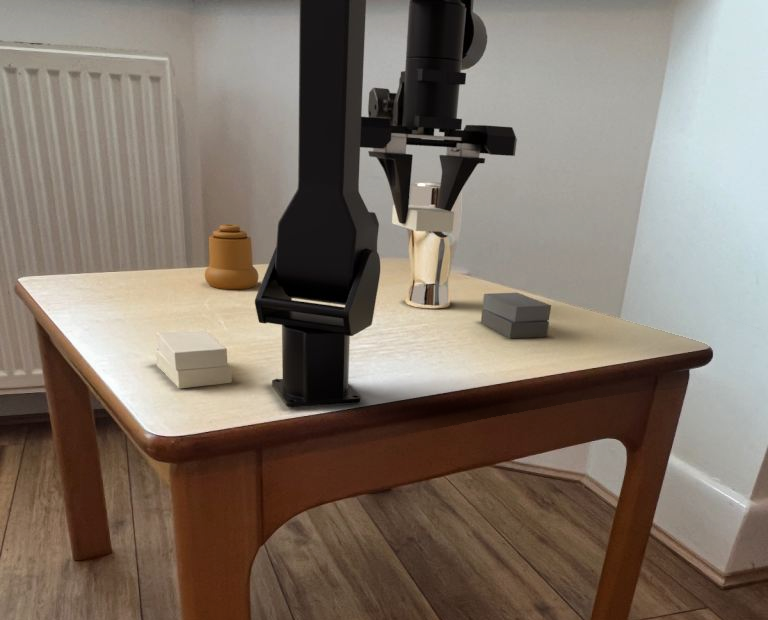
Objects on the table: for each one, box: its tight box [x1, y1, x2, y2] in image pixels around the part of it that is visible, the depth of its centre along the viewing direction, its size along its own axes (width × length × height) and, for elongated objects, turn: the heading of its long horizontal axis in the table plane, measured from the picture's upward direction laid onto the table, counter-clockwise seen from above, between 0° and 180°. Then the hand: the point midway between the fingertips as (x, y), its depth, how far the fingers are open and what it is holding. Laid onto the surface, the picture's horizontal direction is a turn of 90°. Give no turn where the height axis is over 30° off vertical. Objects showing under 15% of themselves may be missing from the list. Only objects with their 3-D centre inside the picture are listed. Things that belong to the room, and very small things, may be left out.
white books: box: [154, 328, 233, 390], centre depth 68 cm, size 8×5×3 cm, turn 30°
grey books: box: [480, 292, 552, 339], centre depth 90 cm, size 8×5×4 cm
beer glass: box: [405, 181, 463, 310], centre depth 98 cm, size 7×7×15 cm
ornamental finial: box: [204, 223, 259, 290], centre depth 104 cm, size 8×8×8 cm
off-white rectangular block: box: [391, 204, 454, 232], centre depth 83 cm, size 7×4×2 cm, turn 21°
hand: (421, 223), depth 83 cm, fingers closed on off-white rectangular block, 4 cm apart
